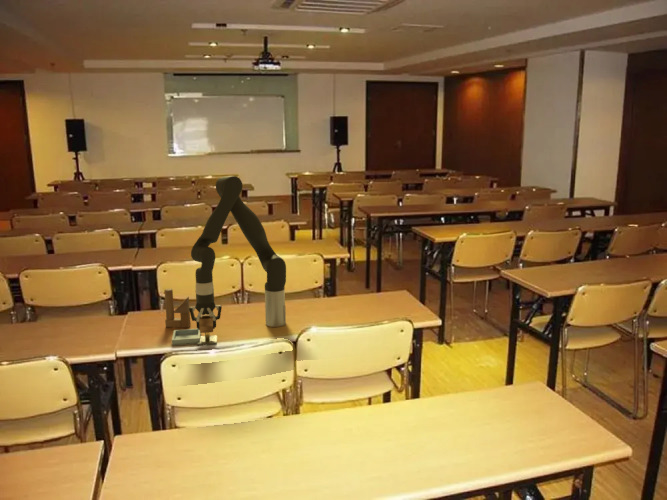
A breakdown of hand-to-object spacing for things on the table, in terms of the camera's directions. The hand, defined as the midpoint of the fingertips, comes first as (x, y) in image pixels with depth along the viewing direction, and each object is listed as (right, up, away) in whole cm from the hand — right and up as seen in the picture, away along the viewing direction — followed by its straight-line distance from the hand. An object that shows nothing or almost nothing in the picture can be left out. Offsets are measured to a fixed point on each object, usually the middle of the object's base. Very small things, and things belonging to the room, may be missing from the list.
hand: (206, 328), depth 243 cm
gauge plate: (0, -6, +1) cm, 6 cm away
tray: (-9, -5, +4) cm, 11 cm away
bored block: (0, -1, 0) cm, 1 cm away
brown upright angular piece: (-18, -2, +19) cm, 26 cm away
